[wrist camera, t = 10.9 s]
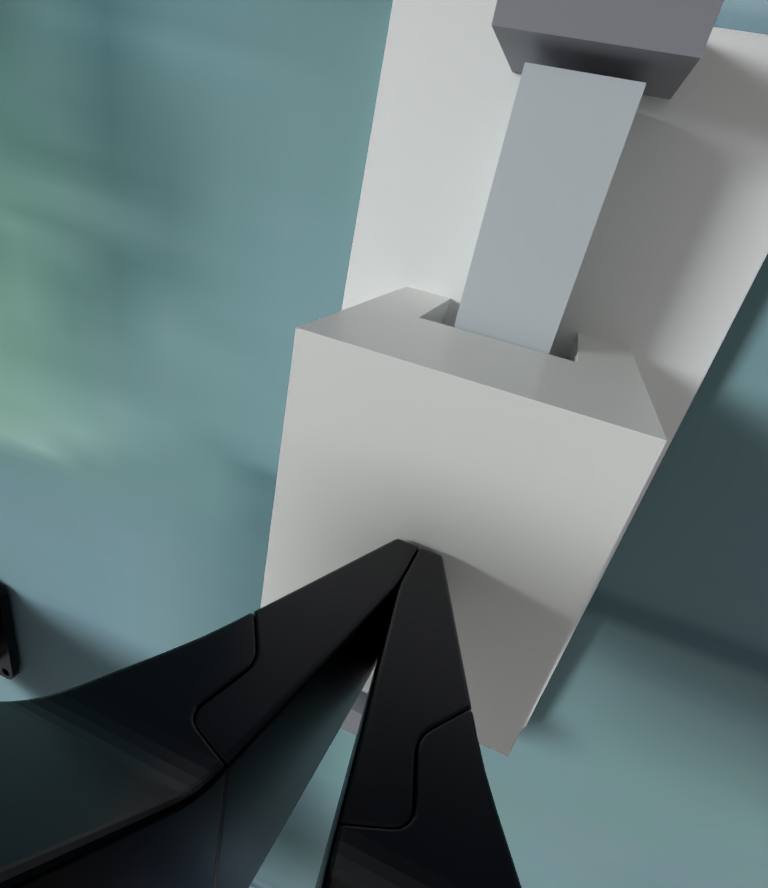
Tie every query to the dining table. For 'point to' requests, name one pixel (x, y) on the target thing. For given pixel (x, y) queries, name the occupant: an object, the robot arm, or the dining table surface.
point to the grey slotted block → (462, 477)
